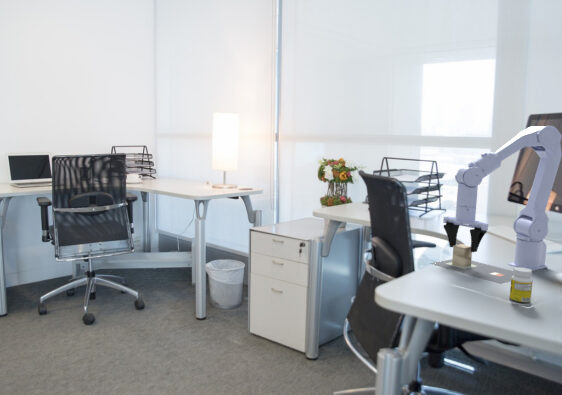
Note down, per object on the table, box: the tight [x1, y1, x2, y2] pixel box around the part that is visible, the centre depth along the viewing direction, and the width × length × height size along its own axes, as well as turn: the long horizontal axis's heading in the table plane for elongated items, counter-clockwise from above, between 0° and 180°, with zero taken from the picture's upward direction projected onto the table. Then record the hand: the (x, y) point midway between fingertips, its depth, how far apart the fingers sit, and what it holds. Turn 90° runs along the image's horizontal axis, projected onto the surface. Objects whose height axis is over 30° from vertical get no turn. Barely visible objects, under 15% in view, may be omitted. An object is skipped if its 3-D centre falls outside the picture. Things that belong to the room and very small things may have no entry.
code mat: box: [429, 258, 514, 285], centre depth 149 cm, size 16×24×1 cm, turn 35°
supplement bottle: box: [509, 267, 534, 307], centre depth 119 cm, size 5×5×8 cm
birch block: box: [451, 243, 473, 267], centre depth 153 cm, size 4×4×6 cm
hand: (463, 249), depth 153 cm, fingers open, 7 cm apart
